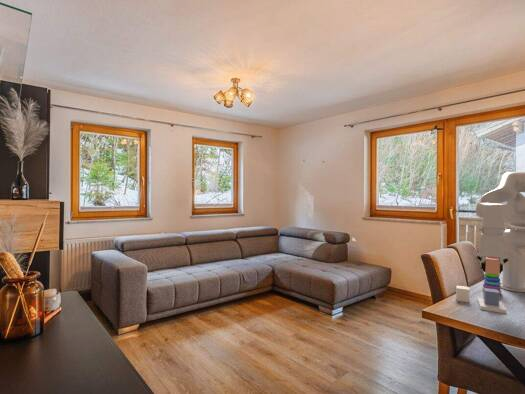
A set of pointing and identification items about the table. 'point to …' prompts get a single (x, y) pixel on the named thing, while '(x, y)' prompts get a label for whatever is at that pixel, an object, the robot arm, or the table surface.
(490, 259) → the terracotta brick
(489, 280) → the stacking toy
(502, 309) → the tower base
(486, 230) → the robot arm
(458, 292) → the cream brick
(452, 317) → the table surface
